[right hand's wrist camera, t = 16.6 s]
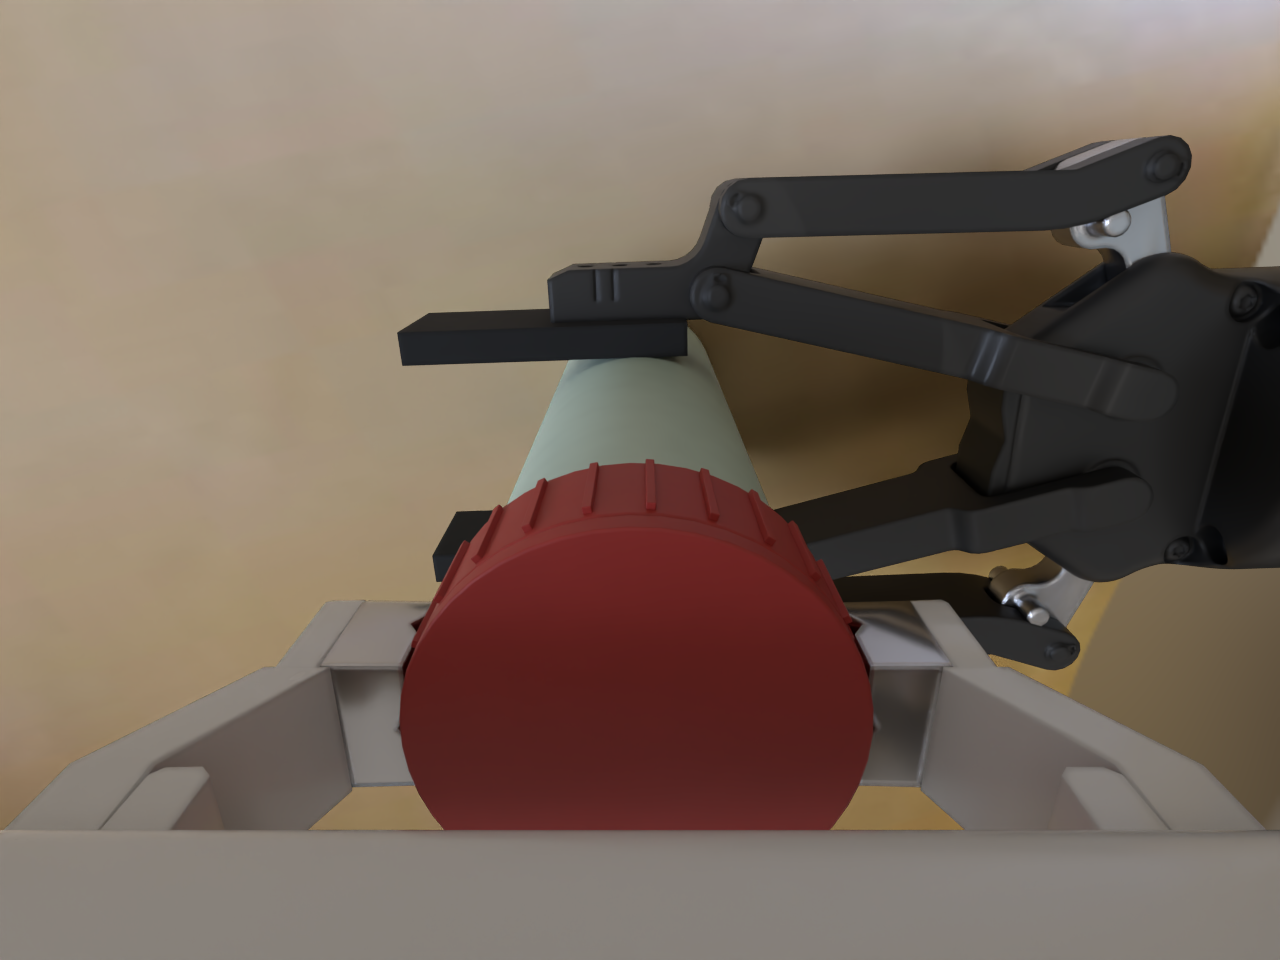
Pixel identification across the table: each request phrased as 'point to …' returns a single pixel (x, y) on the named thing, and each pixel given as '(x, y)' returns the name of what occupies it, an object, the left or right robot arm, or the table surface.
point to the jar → (640, 420)
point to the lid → (636, 665)
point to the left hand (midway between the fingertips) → (434, 447)
